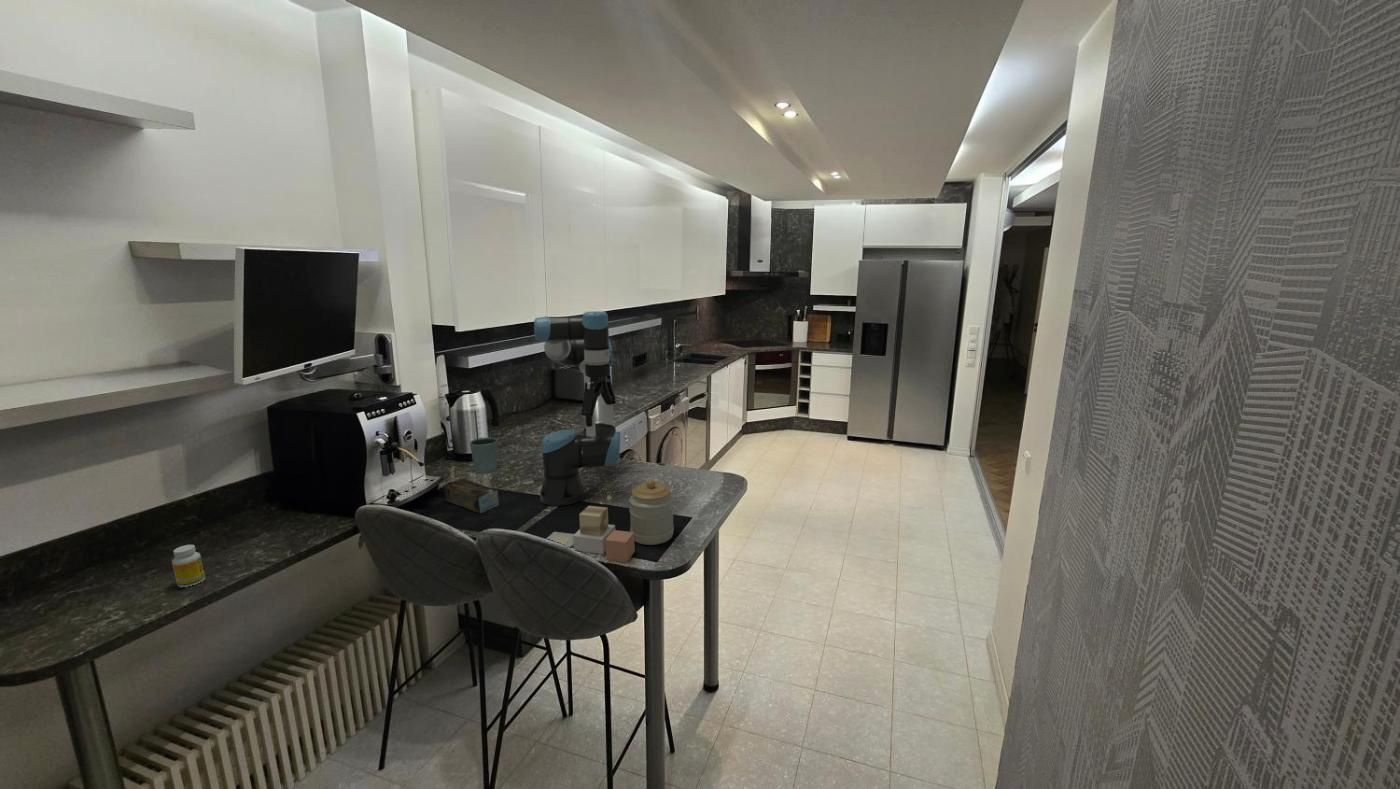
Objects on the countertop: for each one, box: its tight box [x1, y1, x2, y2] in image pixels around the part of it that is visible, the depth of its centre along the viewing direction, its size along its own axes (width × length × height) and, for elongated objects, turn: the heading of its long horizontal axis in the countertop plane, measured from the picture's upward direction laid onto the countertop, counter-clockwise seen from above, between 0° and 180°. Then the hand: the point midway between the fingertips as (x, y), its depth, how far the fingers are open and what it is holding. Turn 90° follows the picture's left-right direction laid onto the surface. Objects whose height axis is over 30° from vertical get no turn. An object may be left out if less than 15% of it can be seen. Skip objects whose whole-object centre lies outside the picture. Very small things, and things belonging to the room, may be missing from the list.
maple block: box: [578, 505, 609, 536], centre depth 158 cm, size 6×6×6 cm
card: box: [546, 531, 575, 548], centre depth 161 cm, size 9×9×1 cm
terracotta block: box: [605, 529, 636, 563], centre depth 153 cm, size 6×6×6 cm
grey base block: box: [573, 523, 616, 555], centre depth 159 cm, size 9×9×4 cm
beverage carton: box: [443, 478, 500, 514], centre depth 188 cm, size 8×19×7 cm, turn 57°
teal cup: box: [469, 437, 498, 475], centre depth 219 cm, size 10×10×12 cm
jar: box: [628, 479, 675, 546], centre depth 164 cm, size 13×13×18 cm
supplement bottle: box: [171, 544, 206, 588], centre depth 140 cm, size 5×5×10 cm
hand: (600, 430), depth 173 cm, fingers open, 13 cm apart
